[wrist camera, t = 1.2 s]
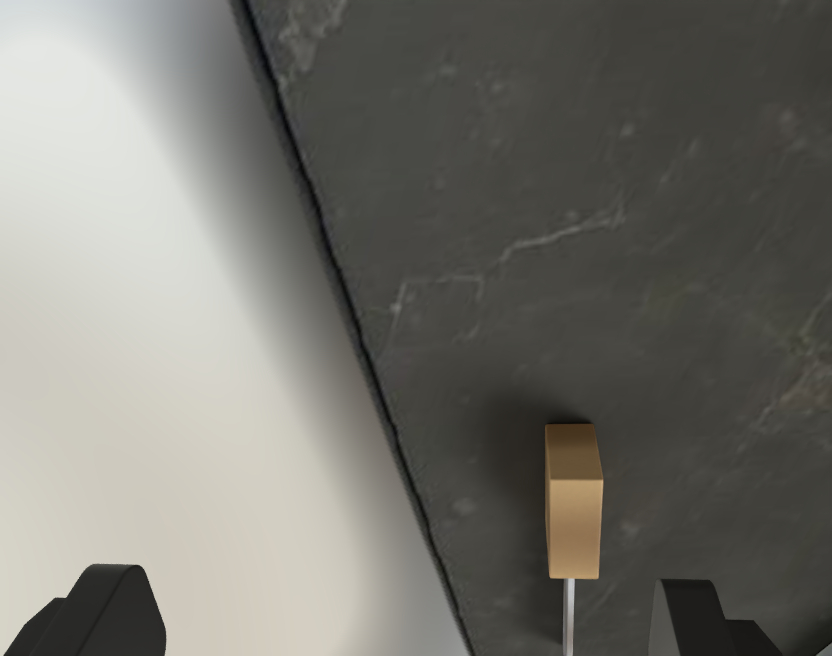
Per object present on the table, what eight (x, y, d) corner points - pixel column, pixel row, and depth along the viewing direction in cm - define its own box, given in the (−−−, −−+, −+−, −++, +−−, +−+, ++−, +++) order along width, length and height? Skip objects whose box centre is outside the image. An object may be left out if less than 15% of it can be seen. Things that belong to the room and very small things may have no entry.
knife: (545, 423, 34) (549, 479, 30) (593, 422, 33) (603, 479, 30) (545, 646, 42) (549, 709, 38) (584, 647, 41) (592, 711, 38)
